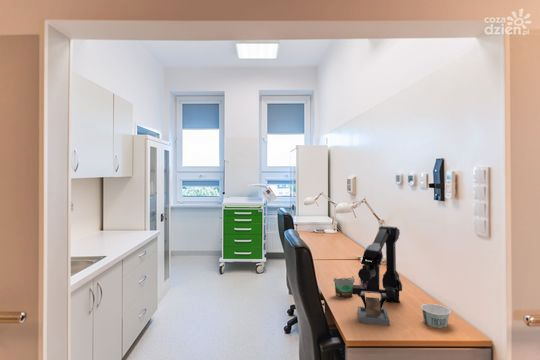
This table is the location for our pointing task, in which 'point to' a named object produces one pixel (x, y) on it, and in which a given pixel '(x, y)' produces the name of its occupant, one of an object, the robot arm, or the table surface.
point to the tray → (373, 317)
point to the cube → (372, 306)
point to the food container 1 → (344, 287)
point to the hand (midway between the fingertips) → (372, 309)
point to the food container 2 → (435, 315)
